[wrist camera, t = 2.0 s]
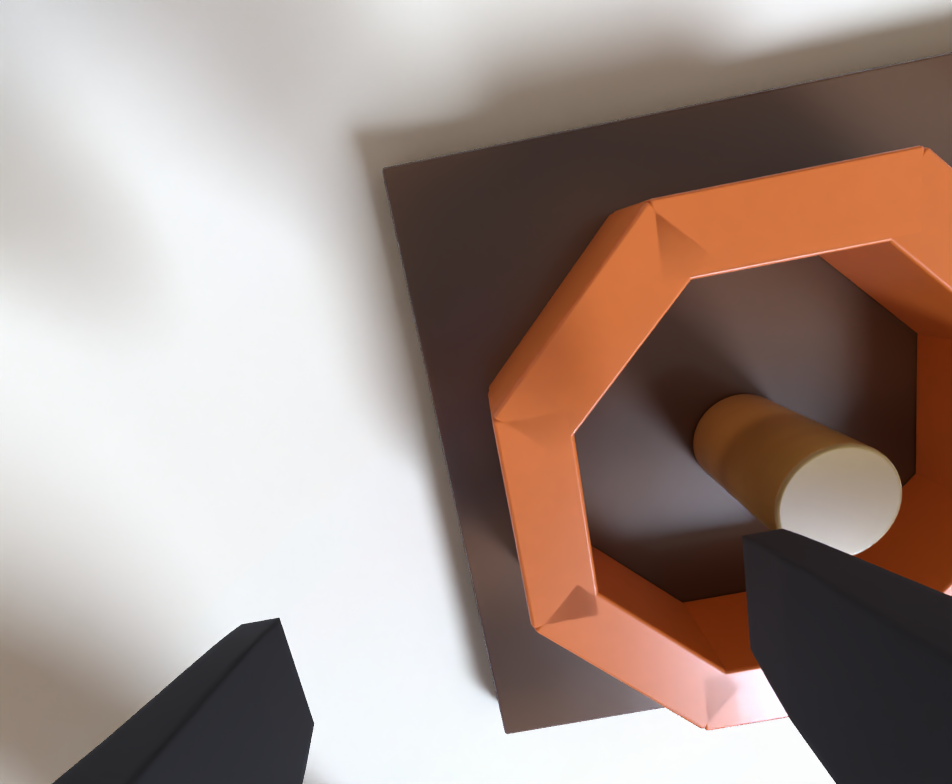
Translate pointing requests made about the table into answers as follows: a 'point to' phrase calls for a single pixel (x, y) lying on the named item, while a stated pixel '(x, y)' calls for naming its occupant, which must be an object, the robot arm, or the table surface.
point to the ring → (623, 332)
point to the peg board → (668, 357)
